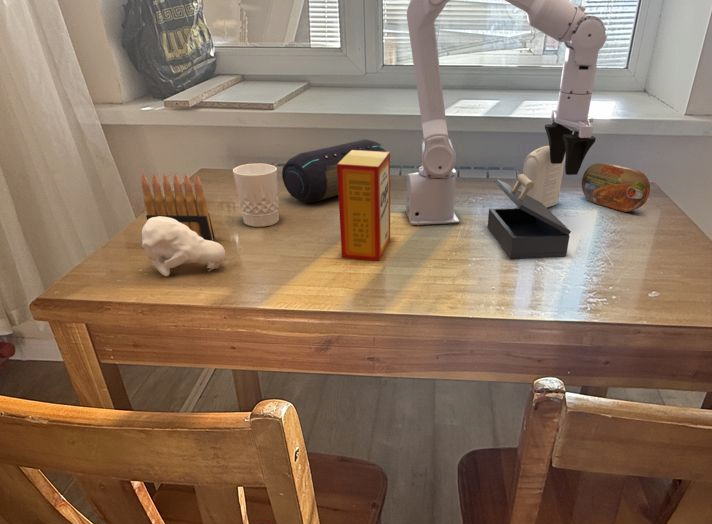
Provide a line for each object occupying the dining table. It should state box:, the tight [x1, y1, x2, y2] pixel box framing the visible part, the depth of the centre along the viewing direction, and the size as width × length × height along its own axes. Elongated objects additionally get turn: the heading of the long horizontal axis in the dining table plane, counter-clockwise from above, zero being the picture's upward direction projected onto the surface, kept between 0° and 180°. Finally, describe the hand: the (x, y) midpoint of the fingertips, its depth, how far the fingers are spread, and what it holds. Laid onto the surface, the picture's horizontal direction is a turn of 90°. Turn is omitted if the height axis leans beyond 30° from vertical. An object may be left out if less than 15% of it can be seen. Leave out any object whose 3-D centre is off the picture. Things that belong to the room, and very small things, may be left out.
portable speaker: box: [281, 139, 387, 203], centre depth 125 cm, size 25×10×10 cm, turn 137°
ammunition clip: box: [140, 173, 216, 242], centre depth 100 cm, size 11×2×12 cm, turn 91°
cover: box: [493, 173, 572, 236], centre depth 102 cm, size 11×15×4 cm
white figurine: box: [141, 216, 226, 277], centre depth 91 cm, size 6×8×12 cm
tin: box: [581, 162, 651, 213], centre depth 122 cm, size 15×3×8 cm, turn 41°
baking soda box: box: [337, 150, 391, 262], centre depth 98 cm, size 10×6×16 cm
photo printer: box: [520, 145, 566, 209], centre depth 119 cm, size 10×4×12 cm, turn 134°
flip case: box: [486, 206, 571, 260], centre depth 105 cm, size 10×15×4 cm
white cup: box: [232, 162, 280, 228], centre depth 110 cm, size 8×8×10 cm
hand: (563, 168), depth 111 cm, fingers open, 7 cm apart
